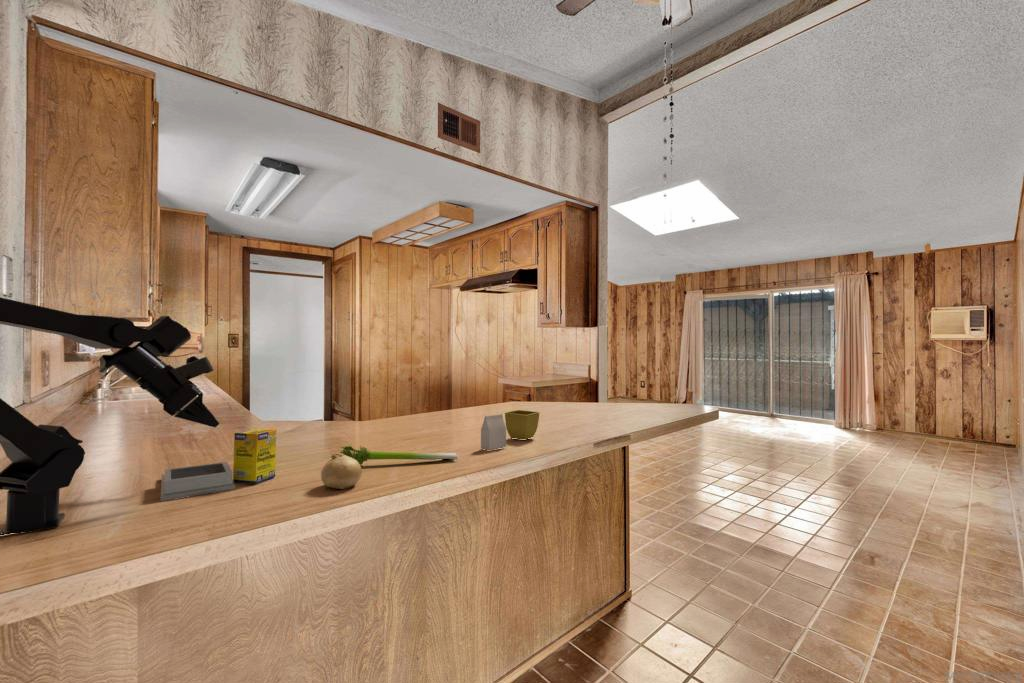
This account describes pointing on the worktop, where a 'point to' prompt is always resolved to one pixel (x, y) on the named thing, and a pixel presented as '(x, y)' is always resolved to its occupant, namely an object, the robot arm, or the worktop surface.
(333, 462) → the onion
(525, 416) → the flower pot
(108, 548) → the worktop surface
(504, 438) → the grey gable carton
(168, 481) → the gray rectangular tray
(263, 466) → the supplement box
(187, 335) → the robot arm
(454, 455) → the green celery stalk
